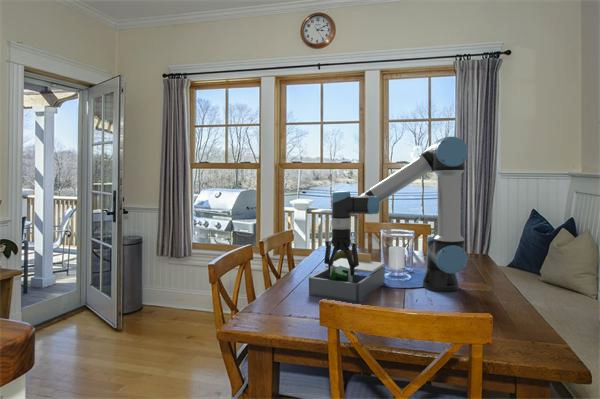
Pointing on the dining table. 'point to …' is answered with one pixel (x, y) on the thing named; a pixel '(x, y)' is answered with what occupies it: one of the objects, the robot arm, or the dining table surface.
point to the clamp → (340, 274)
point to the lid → (360, 263)
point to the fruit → (341, 255)
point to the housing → (345, 286)
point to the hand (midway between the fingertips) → (341, 281)
